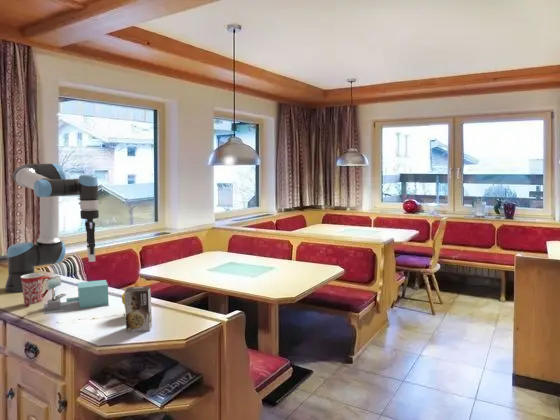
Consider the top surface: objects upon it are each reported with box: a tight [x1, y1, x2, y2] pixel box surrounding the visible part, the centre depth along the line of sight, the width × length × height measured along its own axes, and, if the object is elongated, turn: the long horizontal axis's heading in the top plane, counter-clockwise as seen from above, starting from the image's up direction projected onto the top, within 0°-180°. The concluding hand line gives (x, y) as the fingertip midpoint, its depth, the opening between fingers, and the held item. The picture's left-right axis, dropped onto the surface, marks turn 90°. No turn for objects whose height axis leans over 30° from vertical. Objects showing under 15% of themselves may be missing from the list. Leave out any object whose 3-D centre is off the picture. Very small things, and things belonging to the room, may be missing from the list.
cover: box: [66, 279, 109, 308], centre depth 205 cm, size 10×17×9 cm, turn 116°
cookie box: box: [124, 286, 153, 333], centre depth 177 cm, size 9×6×16 cm
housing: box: [43, 298, 110, 315], centre depth 203 cm, size 15×26×6 cm, turn 116°
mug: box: [21, 272, 51, 307], centre depth 209 cm, size 13×9×14 cm
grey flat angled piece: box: [44, 275, 67, 300], centre depth 200 cm, size 2×11×10 cm, turn 170°
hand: (91, 259), depth 204 cm, fingers open, 9 cm apart
